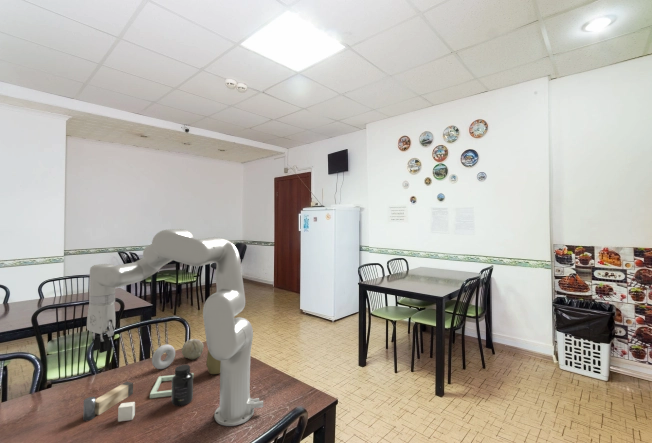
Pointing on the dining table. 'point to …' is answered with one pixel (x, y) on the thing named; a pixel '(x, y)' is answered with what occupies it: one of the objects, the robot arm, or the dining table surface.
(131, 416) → the block
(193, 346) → the garlic bulb
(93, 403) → the pivot post
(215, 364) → the squeeze bottle
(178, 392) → the supplement bottle
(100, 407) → the leg
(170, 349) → the donut
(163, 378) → the seat frame
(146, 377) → the dining table surface
